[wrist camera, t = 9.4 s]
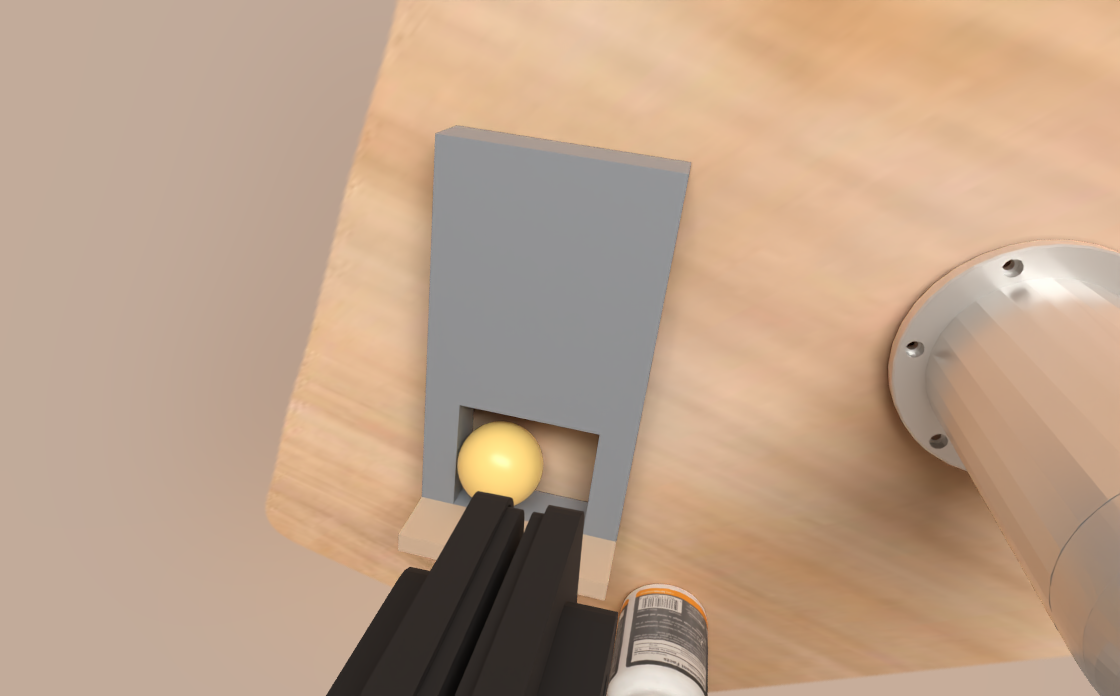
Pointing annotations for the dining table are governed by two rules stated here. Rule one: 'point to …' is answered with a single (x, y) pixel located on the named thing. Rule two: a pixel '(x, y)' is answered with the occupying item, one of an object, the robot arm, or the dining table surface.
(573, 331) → the board
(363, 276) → the dining table surface
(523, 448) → the ball
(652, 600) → the pill bottle
